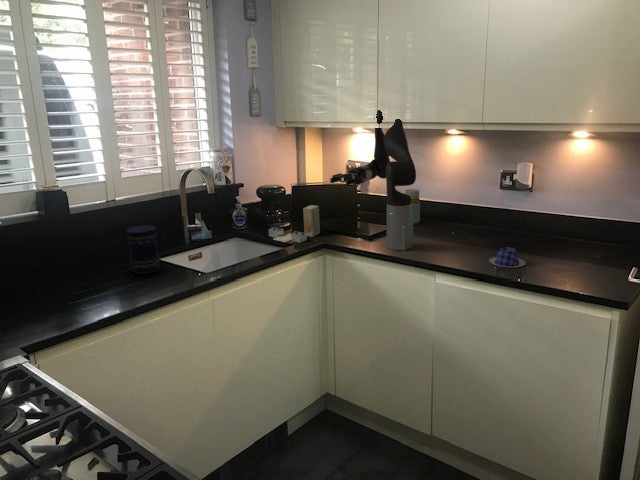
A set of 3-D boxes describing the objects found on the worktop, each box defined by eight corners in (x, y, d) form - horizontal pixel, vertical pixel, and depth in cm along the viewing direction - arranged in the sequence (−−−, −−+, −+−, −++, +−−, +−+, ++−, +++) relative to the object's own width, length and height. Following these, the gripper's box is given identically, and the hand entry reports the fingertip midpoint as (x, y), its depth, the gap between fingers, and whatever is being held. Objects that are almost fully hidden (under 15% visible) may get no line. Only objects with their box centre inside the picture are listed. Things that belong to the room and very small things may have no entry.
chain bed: (306, 240, 225) (306, 232, 224) (300, 242, 222) (300, 234, 221) (275, 234, 236) (274, 225, 235) (268, 236, 233) (268, 227, 232)
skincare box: (311, 232, 237) (310, 204, 234) (320, 233, 235) (319, 205, 231) (303, 236, 232) (302, 207, 228) (312, 237, 229) (311, 208, 226)
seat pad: (301, 236, 231) (301, 235, 230) (285, 242, 223) (285, 241, 223) (289, 234, 235) (289, 233, 235) (273, 239, 228) (273, 238, 227)
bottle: (402, 224, 245) (403, 191, 240) (405, 221, 251) (405, 188, 247) (418, 225, 243) (419, 192, 238) (420, 221, 249) (421, 189, 245)
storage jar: (126, 269, 196) (121, 229, 192) (152, 262, 203) (147, 223, 199) (140, 275, 189) (134, 233, 185) (165, 268, 196) (160, 228, 192)
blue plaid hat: (531, 263, 190) (533, 248, 188) (514, 271, 182) (515, 256, 180) (500, 256, 198) (501, 242, 197) (482, 264, 190) (483, 249, 189)
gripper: (347, 165, 251) (325, 171, 239) (373, 168, 242) (352, 174, 230) (347, 181, 253) (326, 188, 241) (373, 184, 244) (352, 192, 233)
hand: (338, 181), depth 236 cm, fingers open, 8 cm apart
